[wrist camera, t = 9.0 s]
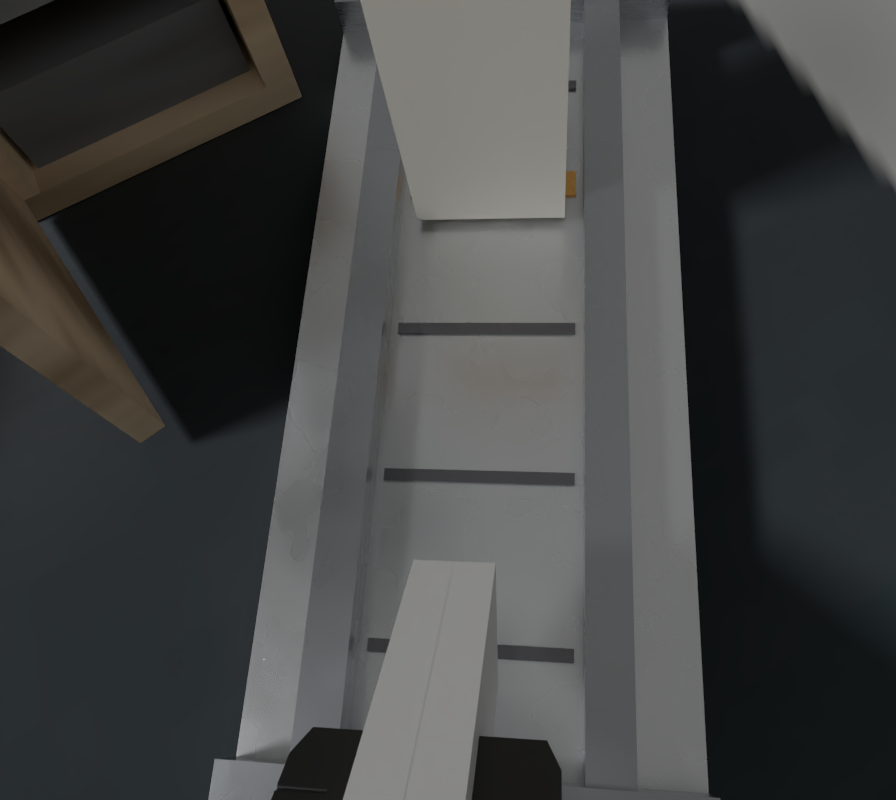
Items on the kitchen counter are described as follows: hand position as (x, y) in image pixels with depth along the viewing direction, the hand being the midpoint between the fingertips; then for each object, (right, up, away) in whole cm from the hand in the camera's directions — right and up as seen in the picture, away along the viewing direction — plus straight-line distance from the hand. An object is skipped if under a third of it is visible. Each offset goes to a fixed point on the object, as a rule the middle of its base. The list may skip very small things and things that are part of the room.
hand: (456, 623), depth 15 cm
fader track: (+1, +5, +8) cm, 9 cm away
